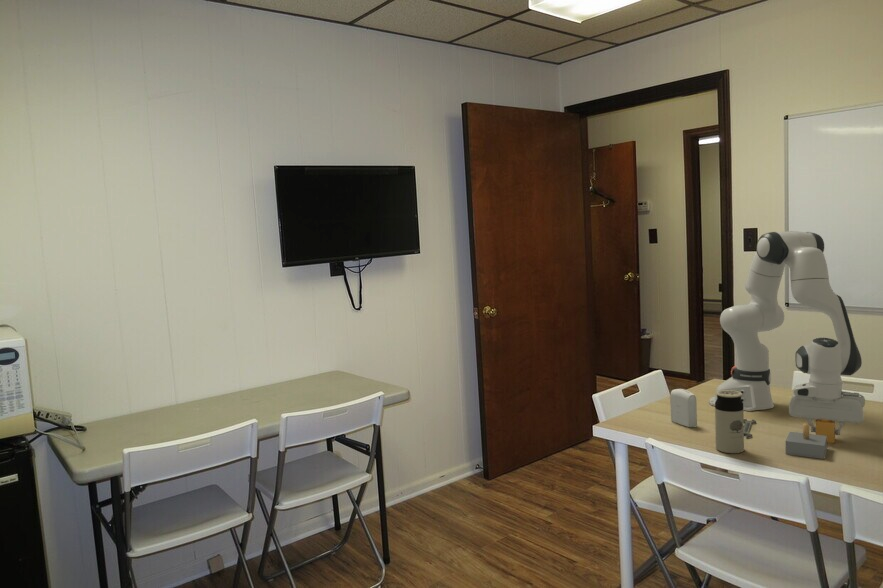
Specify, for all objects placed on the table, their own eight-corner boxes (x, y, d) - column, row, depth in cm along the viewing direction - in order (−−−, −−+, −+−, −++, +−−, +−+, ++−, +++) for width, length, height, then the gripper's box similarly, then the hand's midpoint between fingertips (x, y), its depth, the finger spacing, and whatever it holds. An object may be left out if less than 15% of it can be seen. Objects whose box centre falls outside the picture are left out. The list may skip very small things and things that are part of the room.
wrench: (752, 440, 206) (757, 423, 223) (751, 434, 206) (756, 418, 223) (735, 439, 209) (742, 423, 226) (735, 434, 209) (741, 418, 226)
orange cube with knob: (815, 440, 201) (815, 418, 201) (817, 436, 206) (817, 413, 205) (834, 443, 199) (834, 419, 198) (835, 438, 203) (835, 415, 202)
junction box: (785, 453, 192) (785, 426, 191) (789, 444, 200) (789, 417, 199) (824, 459, 186) (824, 430, 185) (826, 448, 194) (826, 421, 193)
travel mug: (712, 445, 202) (711, 390, 201) (738, 445, 201) (737, 389, 200) (720, 454, 194) (719, 396, 193) (747, 453, 193) (747, 395, 192)
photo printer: (669, 421, 230) (668, 387, 229) (678, 419, 231) (677, 385, 230) (689, 428, 220) (688, 393, 219) (699, 426, 222) (698, 391, 221)
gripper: (865, 391, 197) (865, 434, 198) (790, 385, 209) (790, 426, 210) (864, 395, 192) (864, 440, 193) (788, 389, 204) (788, 431, 205)
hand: (825, 433), depth 202 cm, fingers closed on orange cube with knob, 5 cm apart
